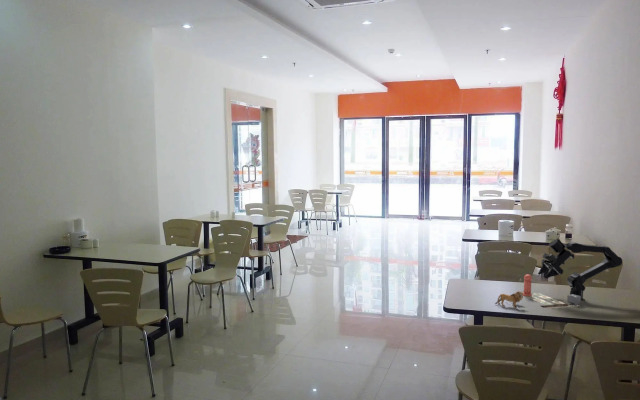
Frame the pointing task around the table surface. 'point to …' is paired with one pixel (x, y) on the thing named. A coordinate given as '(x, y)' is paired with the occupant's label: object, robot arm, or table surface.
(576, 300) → the die
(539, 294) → the board
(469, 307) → the table surface
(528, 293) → the pawn
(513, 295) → the lion figurine
